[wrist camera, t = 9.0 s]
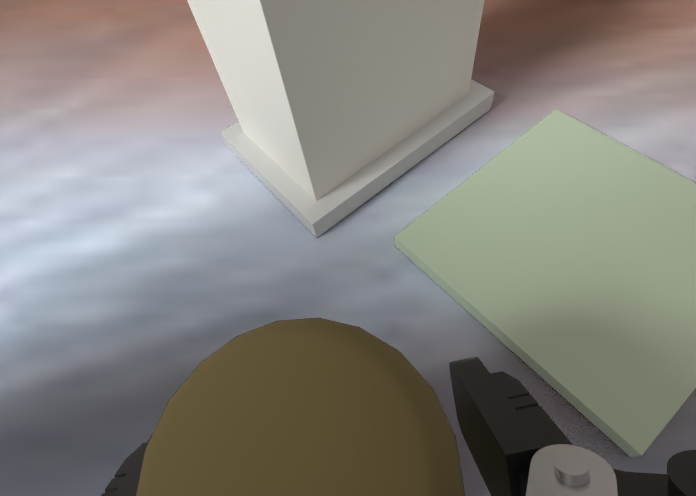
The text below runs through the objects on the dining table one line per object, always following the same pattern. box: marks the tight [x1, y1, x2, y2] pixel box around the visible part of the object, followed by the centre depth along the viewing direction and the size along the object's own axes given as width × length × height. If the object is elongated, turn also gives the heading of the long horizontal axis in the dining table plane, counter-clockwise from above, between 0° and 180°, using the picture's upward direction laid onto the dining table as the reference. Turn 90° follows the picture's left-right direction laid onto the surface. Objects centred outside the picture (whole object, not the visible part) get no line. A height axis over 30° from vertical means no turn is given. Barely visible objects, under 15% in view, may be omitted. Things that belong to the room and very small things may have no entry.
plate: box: [394, 109, 696, 457], centre depth 18 cm, size 12×12×1 cm
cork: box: [136, 318, 465, 496], centre depth 10 cm, size 6×6×11 cm
